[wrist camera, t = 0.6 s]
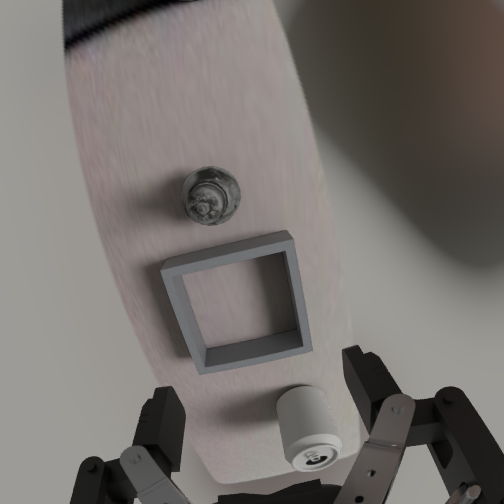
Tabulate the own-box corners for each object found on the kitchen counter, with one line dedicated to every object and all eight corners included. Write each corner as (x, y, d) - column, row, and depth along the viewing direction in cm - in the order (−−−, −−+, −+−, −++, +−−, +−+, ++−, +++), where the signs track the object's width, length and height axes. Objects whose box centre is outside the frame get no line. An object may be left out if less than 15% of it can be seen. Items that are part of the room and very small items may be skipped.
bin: (167, 258, 35) (159, 270, 31) (286, 230, 35) (293, 239, 31) (201, 356, 39) (199, 375, 35) (306, 333, 39) (312, 350, 35)
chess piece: (210, 229, 34) (199, 265, 23) (175, 190, 33) (145, 207, 21) (251, 194, 34) (260, 213, 22) (215, 154, 32) (205, 151, 21)
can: (283, 421, 44) (294, 480, 32) (268, 392, 42) (278, 455, 30) (328, 406, 44) (348, 463, 32) (318, 375, 41) (340, 436, 30)
